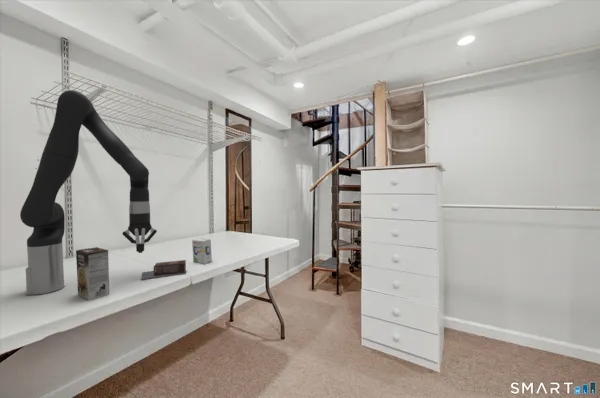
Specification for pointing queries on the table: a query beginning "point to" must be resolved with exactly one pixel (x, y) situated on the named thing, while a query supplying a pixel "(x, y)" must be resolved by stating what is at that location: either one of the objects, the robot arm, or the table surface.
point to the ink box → (202, 250)
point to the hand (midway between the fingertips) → (140, 252)
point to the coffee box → (92, 273)
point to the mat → (151, 275)
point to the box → (169, 267)
